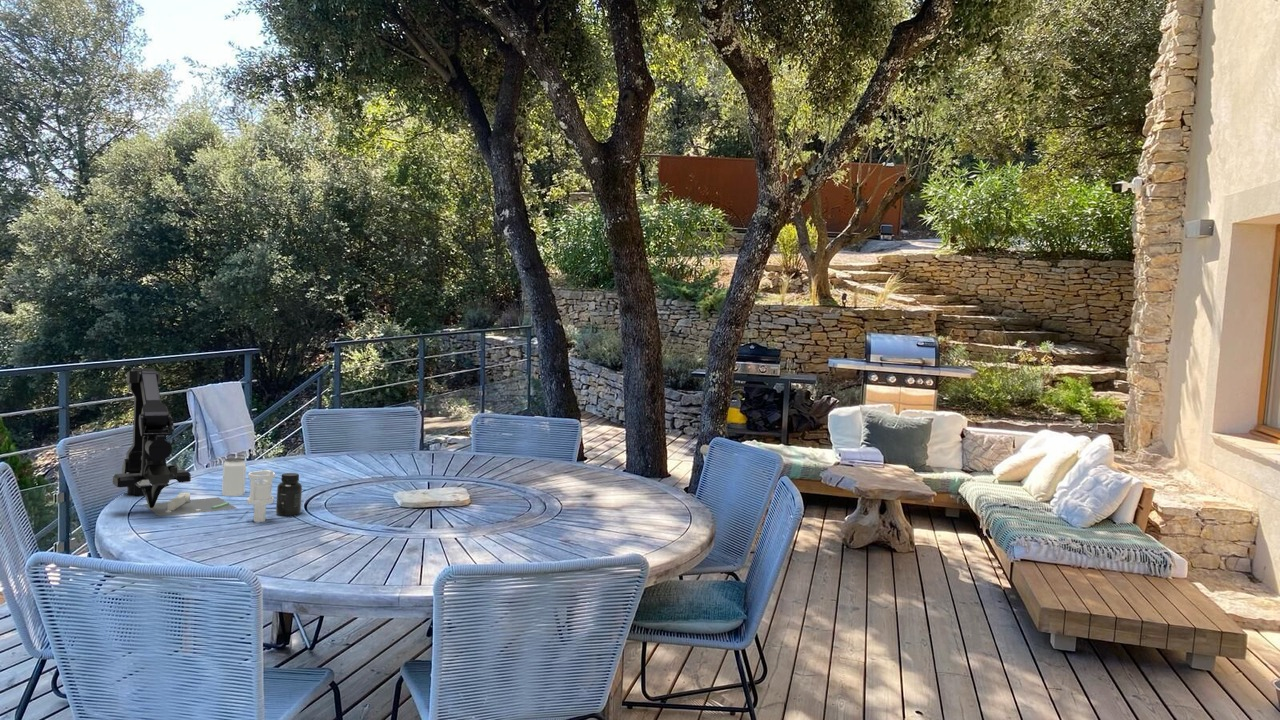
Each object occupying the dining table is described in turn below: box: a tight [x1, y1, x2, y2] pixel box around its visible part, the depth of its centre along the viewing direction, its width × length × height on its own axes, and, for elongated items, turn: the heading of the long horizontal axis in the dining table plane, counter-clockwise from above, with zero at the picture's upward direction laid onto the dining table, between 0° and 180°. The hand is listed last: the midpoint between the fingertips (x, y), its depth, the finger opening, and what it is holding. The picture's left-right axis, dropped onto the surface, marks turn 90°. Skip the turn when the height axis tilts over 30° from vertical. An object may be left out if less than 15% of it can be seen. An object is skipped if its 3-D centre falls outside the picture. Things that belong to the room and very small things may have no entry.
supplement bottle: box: [275, 472, 303, 517], centre depth 256 cm, size 7×7×12 cm
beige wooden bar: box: [167, 492, 191, 510], centre depth 252 cm, size 13×3×2 cm, turn 10°
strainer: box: [246, 469, 276, 523], centre depth 246 cm, size 7×7×15 cm
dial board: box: [142, 497, 238, 518], centre depth 252 cm, size 16×21×2 cm
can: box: [221, 457, 247, 497], centre depth 271 cm, size 6×6×12 cm
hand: (151, 507), depth 244 cm, fingers closed
